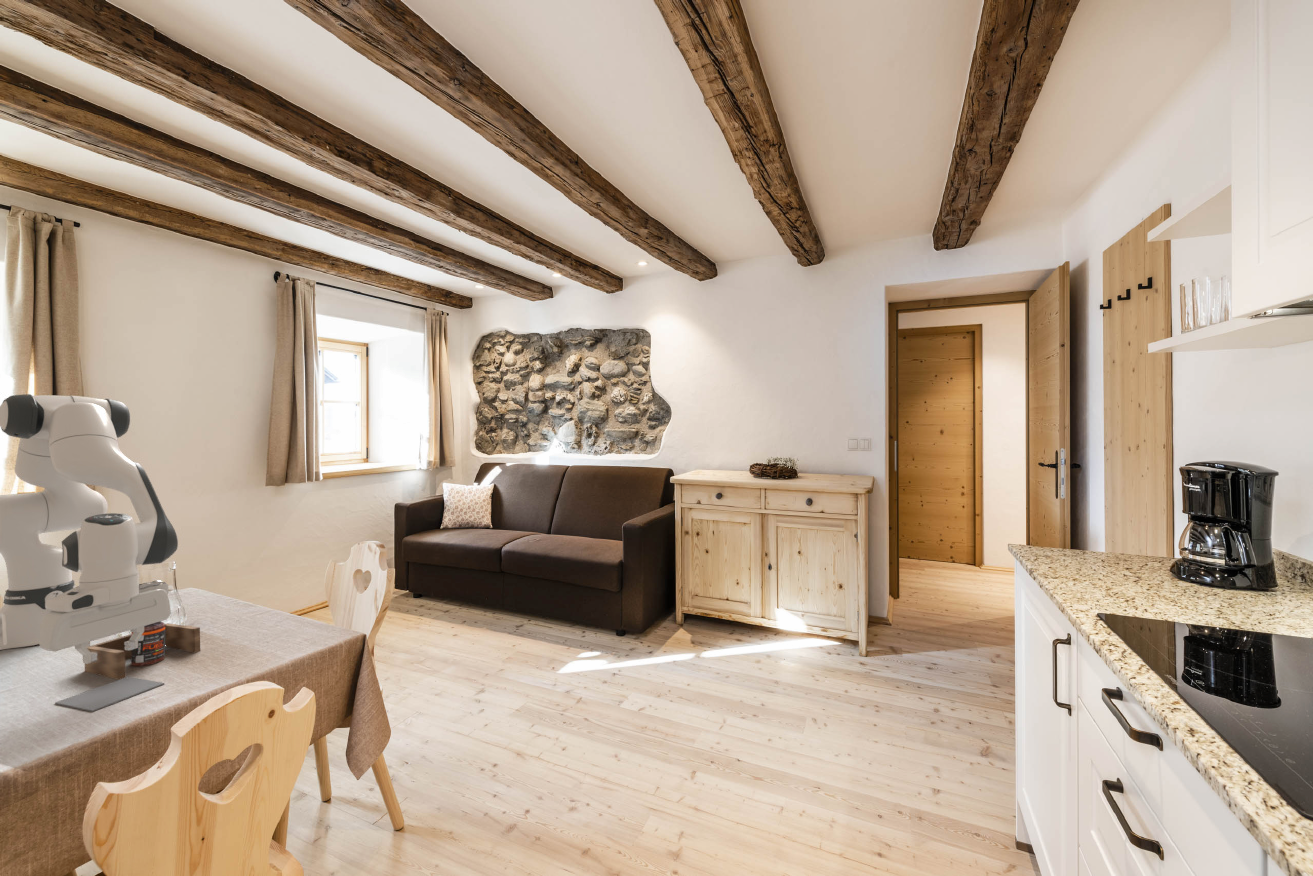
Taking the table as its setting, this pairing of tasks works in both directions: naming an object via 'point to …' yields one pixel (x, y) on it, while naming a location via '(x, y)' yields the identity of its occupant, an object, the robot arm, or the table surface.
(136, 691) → the mat
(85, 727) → the table surface
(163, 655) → the supplement bottle
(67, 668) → the table surface
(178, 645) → the holder
